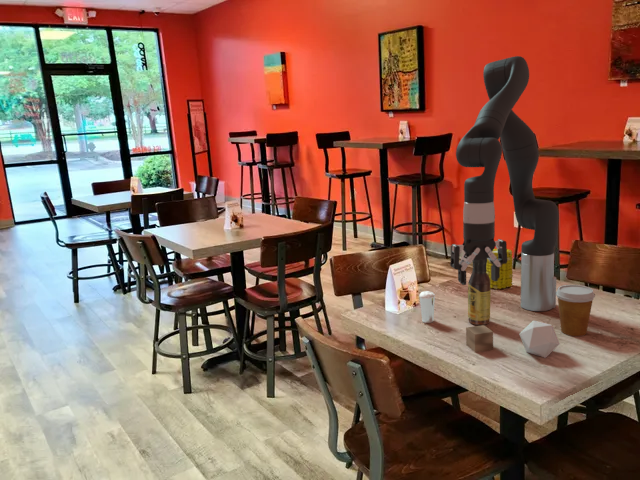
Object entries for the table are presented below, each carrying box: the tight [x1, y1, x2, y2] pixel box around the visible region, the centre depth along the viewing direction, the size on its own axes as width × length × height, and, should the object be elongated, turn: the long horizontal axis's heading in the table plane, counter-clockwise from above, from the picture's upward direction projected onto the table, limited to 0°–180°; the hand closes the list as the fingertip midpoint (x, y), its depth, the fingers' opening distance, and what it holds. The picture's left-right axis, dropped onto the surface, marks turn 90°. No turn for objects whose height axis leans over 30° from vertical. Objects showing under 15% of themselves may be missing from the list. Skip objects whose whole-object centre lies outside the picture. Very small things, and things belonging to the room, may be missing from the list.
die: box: [518, 320, 561, 359], centre depth 138 cm, size 8×9×10 cm
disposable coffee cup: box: [556, 284, 596, 337], centre depth 149 cm, size 10×10×12 cm
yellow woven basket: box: [486, 248, 514, 290], centre depth 192 cm, size 14×11×9 cm
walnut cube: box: [465, 325, 494, 353], centre depth 144 cm, size 5×5×5 cm
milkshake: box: [418, 289, 439, 324], centre depth 164 cm, size 4×5×10 cm
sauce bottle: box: [467, 258, 492, 326], centre depth 159 cm, size 7×6×20 cm
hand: (478, 282), depth 141 cm, fingers open, 8 cm apart
